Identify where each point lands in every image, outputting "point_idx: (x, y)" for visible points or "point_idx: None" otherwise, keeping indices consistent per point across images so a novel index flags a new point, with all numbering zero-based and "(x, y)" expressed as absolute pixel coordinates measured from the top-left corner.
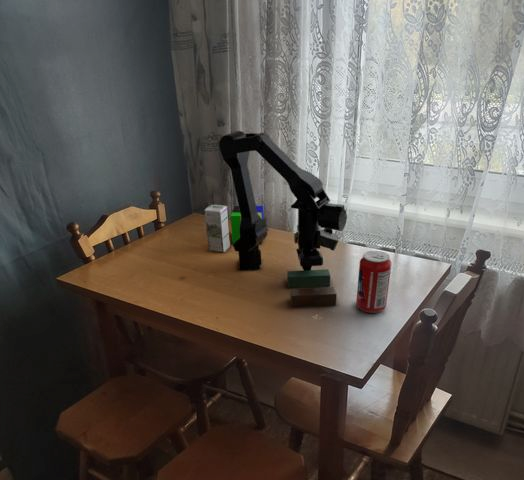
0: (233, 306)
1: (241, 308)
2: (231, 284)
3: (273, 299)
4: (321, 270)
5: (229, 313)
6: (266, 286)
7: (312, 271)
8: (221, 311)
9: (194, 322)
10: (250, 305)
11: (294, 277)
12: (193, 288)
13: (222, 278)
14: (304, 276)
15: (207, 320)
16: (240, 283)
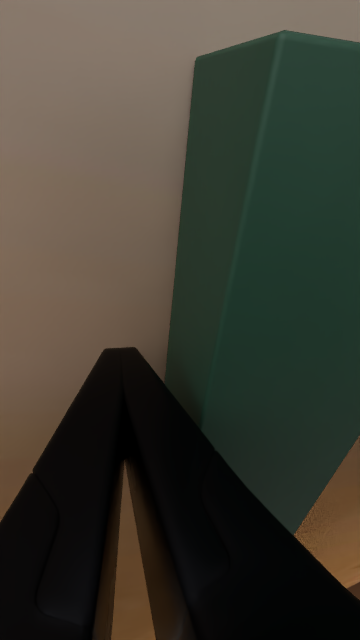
0: (316, 558)
1: (343, 542)
2: (142, 596)
3: (339, 483)
4: (284, 247)
5: (353, 555)
6: None
7: (264, 389)
8: (329, 568)
9: (349, 586)
10: (339, 530)
11: (307, 506)
12: (154, 636)
13: None
14: (345, 455)
15: (357, 575)
16: (138, 583)
